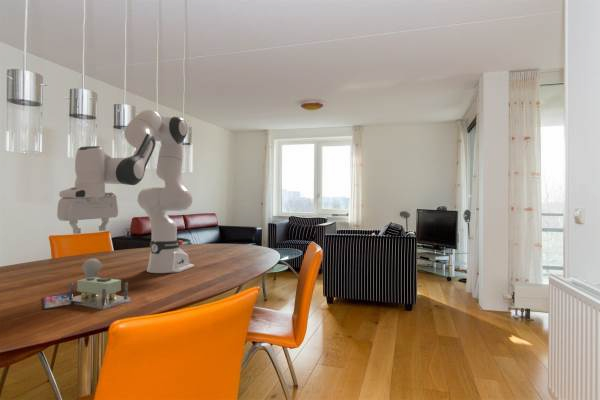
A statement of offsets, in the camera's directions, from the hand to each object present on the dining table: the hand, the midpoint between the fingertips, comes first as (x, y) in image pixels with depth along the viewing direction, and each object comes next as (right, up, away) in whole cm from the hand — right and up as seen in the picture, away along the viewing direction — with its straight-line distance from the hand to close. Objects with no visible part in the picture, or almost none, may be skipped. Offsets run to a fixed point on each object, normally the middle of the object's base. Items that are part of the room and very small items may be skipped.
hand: (90, 232), depth 118 cm
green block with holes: (+8, -19, -8) cm, 21 cm away
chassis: (+8, -22, -8) cm, 24 cm away
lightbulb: (-4, -22, +8) cm, 24 cm away
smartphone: (-5, -22, -9) cm, 25 cm away
